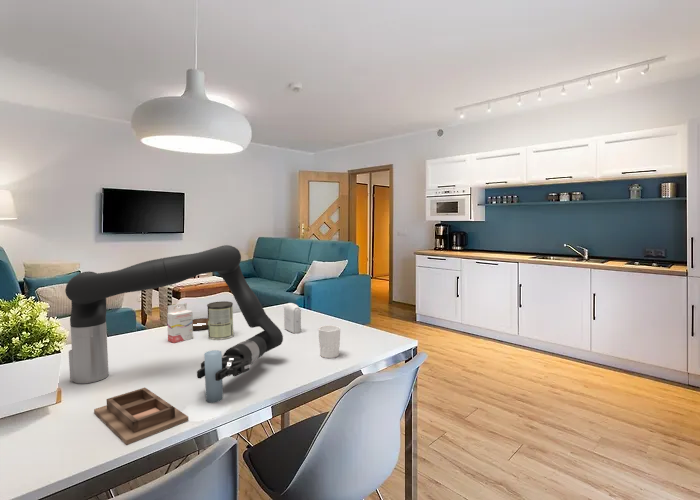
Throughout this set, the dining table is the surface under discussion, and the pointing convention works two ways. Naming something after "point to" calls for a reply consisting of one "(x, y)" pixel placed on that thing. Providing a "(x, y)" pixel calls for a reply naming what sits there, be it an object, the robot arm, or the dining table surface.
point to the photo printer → (292, 318)
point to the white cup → (329, 341)
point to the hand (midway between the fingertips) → (207, 376)
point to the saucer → (201, 320)
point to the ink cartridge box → (179, 323)
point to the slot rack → (139, 415)
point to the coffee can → (220, 320)
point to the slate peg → (213, 376)
